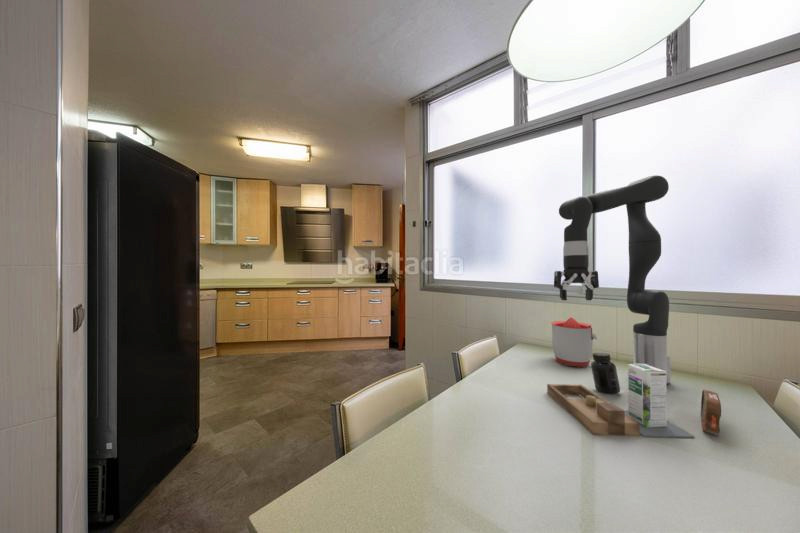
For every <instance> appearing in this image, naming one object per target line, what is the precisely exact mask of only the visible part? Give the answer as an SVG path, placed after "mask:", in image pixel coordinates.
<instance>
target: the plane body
mask: <svg viewBox="0 0 800 533" xmlns="http://www.w3.org/2000/svg"><path fill="white" fill-rule="evenodd" d="M546 388H547V389H546V391H547V392H546V393H547V394H548V395H549V397H551V398H552V399H553V400H554V401H555V402H556V403H558V404H559V406H561V407H562V408H563V409H564V410H566V412H567V413H569V414H570V415H571V417H574V419H575V420H577V422H579V423H580V424H581V425H582V426H583V427H584V428H586V429H587V430H588V432H590V433H591V434H593V436H641V435H640V430H639V423H638V422H637V421H635V420H634V419H632V418H631V417H629V416H628V415H626V414H625V411H626V410H624V409H623V408H621V407H620V406H618V405H617V404H615V403H613V402H608V401H607V400H605V399H604V398H602V397H600V396H599V395H597V394H596V393H594V392H593V391H591V390H590V389H589V388H587V387H586V386H584V385H583V384H570V383H569V384H568V383H567V384H564V383H563V384H561V383H560V384H557V383H556V384H554V383H552V384H551V383H549V384H548V383H547V385H546ZM567 396H581V397H582V398H577V397H576V398H575V397H574V398H571V397H570V398H568V397H567Z"/></svg>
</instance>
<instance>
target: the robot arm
mask: <svg viewBox="0 0 800 533" xmlns="http://www.w3.org/2000/svg"><path fill="white" fill-rule="evenodd" d="M669 187H670V186H669V182H668V180H667V179H666V178H665V177H664V176H662V175H658V174H657V175H656V174H655V175H654V174H653V175H649V176H647V177H643V178H640V179H637V180H634V181H632V182H630V183H629V184H627V185H626V186H622V187H617V188H612V189H609V190H607V189H606V190H603V191H598V192H595V193H592V194H589V195H586V196H577V197H574V198H572V199H569V200H565V201H564V202H563V203H561V205H559V208H558V214H559V216H560V217H561V218H563V219H564V220H567V221H568V220H569V221H570V220H571V223H570V224H569V225H567V226H565V228H564V229H563V230H564V231H563V248H562V249H563V252H562V253H563V259H562V260H563V264H562V265H563V270H562V271H561V270H555V271H554V274H553V276H554V277H553V288H556V289H559V298H560V300H562V301H567V298H568V297H567V295H568V294H567V293H568V292H567V288H568V286H570V285H571V284H581V285H583V287H584V288H585V300H586V301H592V300H593V298H594V297H593V296H594V293H593V292H594V290H595V289H599V288H600V284H599V283H600V282H599V272H598V270H590V271H589V265H590V264H589V244H588V228H589V225H590V221H591V220H592V219H591V218H592V215H593V214H598V213H602V212H605V211H609V210H612V209H615V208H619V207H622V206H625V205H626V206H625V207H626V213H627V215H626V216H627V224H628V262H629V263H628V264H629V265H628V269H629V271H628V281H627V283H628V284H627V291H626V292H627V295H626V304H627V308H628V310H629V311H630V312H631V313H634V314H639V315H645V316H648V320H647V321H645V322H644V321H643V322H639V323H634V324H633V326H632V335H633V340H632V342H633V364H647V365H649V366H652V367H655V368H658V369H661V370H664V371H666V385H668V384H671V381H672V380H671V356H669V355H668V334H667V333H668V329H669V315H670V298H669V297H668V296H669V295H668V294H666V292H664V291H663V290H654V289H653V290H649V289H645V288H646V279H647V277H648V275H649V273H650V272H651V270H652V269H653V268H654V266H655V265H656V264H657V262H658V261H659V260H660V258H661V256H662V237H661V234H660V232H659V230H658V229H656V227H655V226H654V225H653V224H652V222H651V221H650V219H649V218H648V216H647V211H646V210H647V209H646V203H652V202H654V201H658V200H660V199H662V198H664V197H665V196H666V194H668V192H669ZM563 277H564V279H563V280H562V278H563ZM588 277H589V279H588Z"/></svg>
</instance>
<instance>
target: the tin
mask: <svg viewBox="0 0 800 533" xmlns="http://www.w3.org/2000/svg"><path fill="white" fill-rule="evenodd" d="M701 393H702V394H701V401H700V402H701V403H700V405H701V406H700V422H701V427H702V428H701V429H702V432H705V433H709V434H712V435H715V436H718V435H720V433H721V429H720V422H721V417H722V404H721V400H720V397H719V395H718V393H716V392H714V391H710V390H706V389H702V392H701Z"/></svg>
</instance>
